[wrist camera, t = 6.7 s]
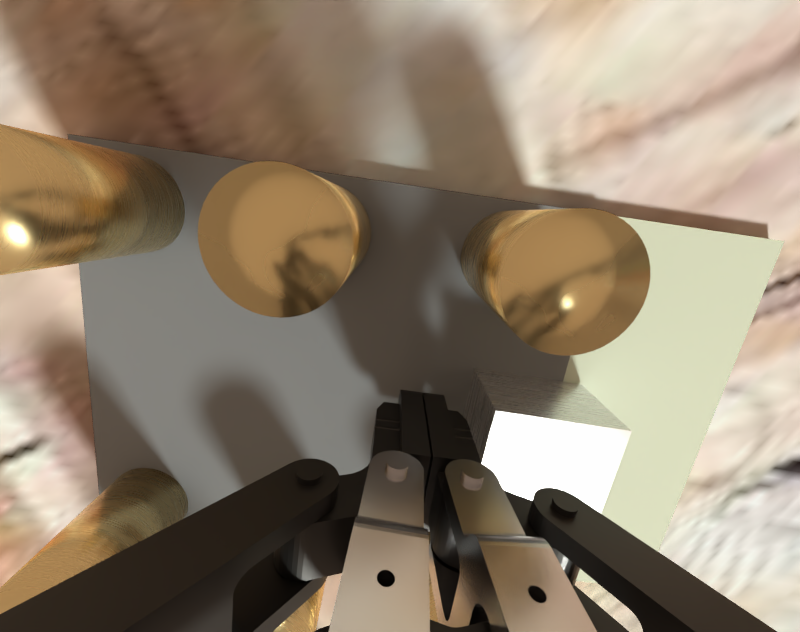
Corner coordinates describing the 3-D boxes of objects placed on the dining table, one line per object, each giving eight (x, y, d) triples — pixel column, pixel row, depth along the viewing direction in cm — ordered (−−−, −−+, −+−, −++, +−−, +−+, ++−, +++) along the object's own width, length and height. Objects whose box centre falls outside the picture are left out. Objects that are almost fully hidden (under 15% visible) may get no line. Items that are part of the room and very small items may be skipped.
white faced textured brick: (582, 384, 14) (631, 431, 11) (552, 477, 15) (590, 542, 12) (474, 368, 13) (495, 410, 10) (451, 462, 14) (465, 525, 11)
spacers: (561, 218, 12) (671, 220, 7) (475, 566, 16) (509, 721, 11) (85, 146, 11) (-146, 98, 7) (114, 526, 15) (-19, 671, 10)
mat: (770, 240, 13) (787, 241, 12) (635, 577, 17) (644, 590, 16) (83, 137, 12) (67, 134, 11) (113, 519, 16) (101, 530, 15)
